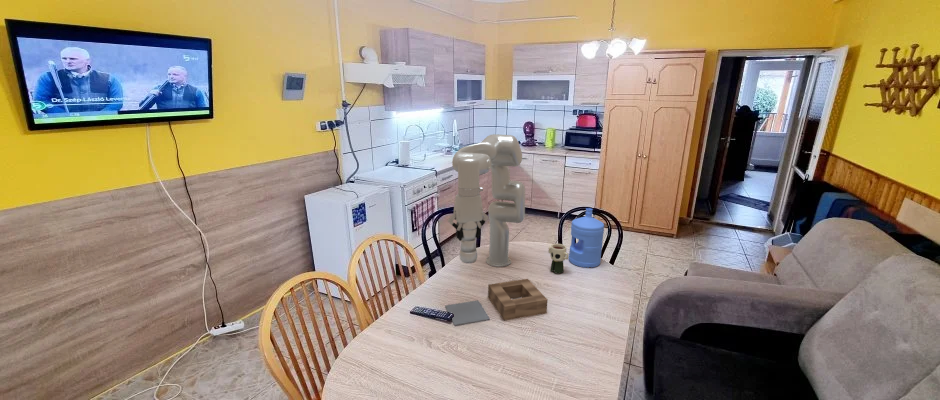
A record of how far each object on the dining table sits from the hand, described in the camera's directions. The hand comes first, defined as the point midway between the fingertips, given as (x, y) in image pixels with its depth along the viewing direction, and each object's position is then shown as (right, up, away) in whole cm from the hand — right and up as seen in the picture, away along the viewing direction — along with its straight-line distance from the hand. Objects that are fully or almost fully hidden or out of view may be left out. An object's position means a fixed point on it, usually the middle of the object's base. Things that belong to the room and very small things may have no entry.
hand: (468, 238), depth 148 cm
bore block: (+19, -29, +15) cm, 38 cm away
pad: (-1, -30, +9) cm, 31 cm away
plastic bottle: (0, -9, +3) cm, 10 cm away
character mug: (+42, -20, +44) cm, 64 cm away
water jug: (+59, -17, +55) cm, 82 cm away
